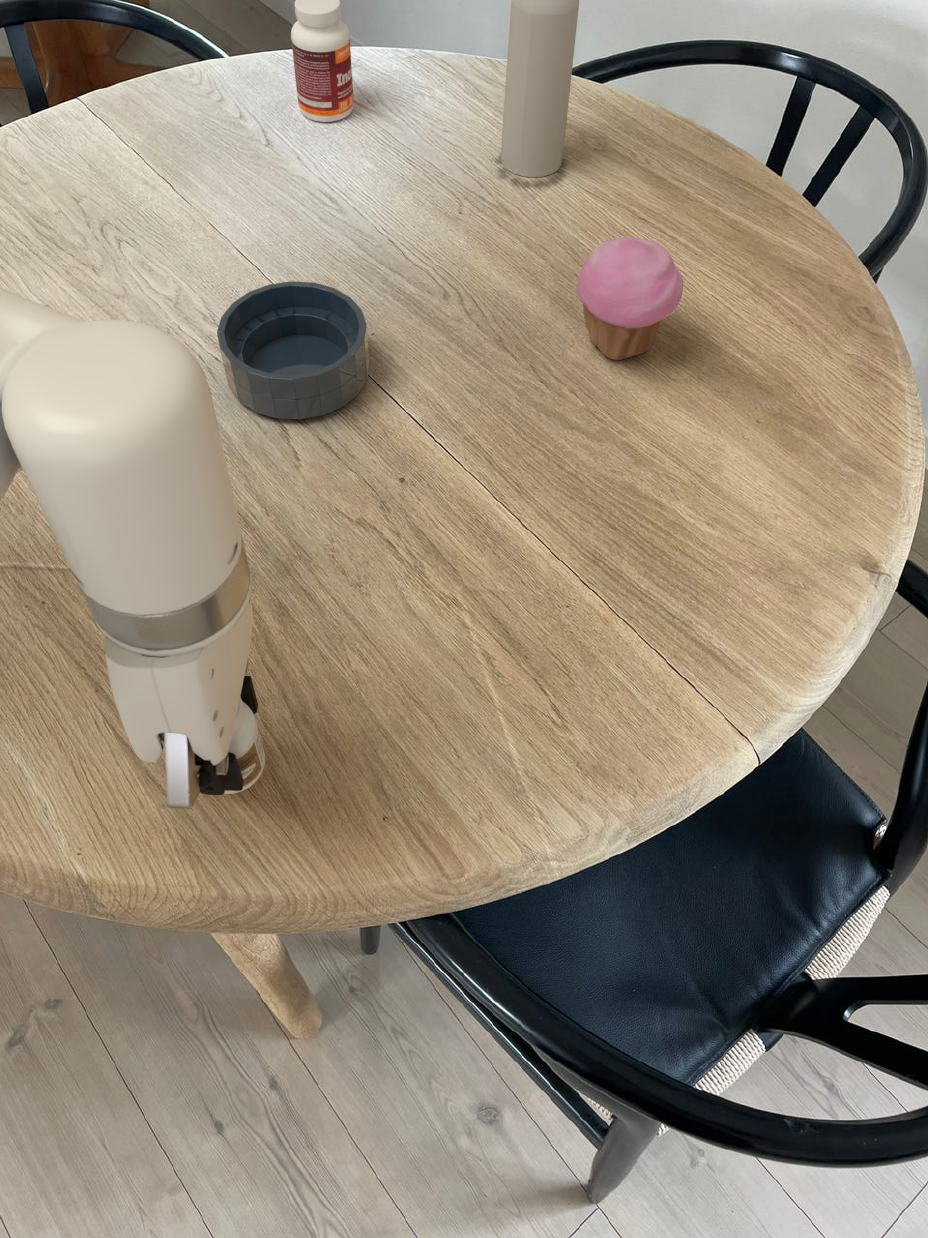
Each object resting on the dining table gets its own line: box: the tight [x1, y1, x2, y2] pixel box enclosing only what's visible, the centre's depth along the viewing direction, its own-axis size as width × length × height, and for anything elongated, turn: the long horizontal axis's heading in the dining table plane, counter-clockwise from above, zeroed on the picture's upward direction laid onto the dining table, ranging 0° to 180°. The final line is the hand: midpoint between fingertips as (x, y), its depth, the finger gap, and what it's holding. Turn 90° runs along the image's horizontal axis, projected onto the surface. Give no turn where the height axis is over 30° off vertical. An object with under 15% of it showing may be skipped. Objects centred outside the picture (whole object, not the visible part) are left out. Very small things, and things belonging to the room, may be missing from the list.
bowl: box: [216, 280, 370, 420], centre depth 83 cm, size 12×12×5 cm
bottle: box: [500, 0, 580, 178], centre depth 93 cm, size 7×7×28 cm
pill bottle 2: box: [290, 0, 355, 123], centre depth 104 cm, size 6×6×11 cm
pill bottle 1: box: [223, 697, 266, 795], centre depth 59 cm, size 4×4×8 cm
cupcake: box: [576, 236, 684, 361], centre depth 84 cm, size 9×9×10 cm
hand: (225, 745), depth 60 cm, fingers closed on pill bottle 1, 4 cm apart
